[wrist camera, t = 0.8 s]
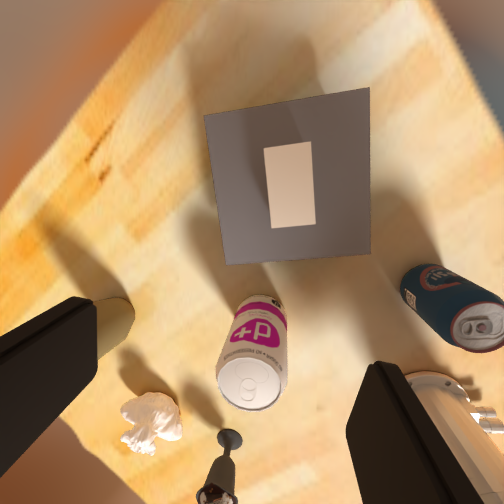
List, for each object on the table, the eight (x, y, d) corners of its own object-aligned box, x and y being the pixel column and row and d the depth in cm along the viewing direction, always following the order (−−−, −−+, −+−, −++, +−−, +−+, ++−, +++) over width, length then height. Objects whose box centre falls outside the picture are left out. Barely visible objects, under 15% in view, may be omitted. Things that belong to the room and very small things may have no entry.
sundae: (235, 458, 50) (215, 568, 36) (207, 439, 50) (175, 543, 35) (253, 438, 48) (240, 546, 34) (224, 419, 48) (198, 520, 34)
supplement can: (240, 288, 41) (216, 345, 26) (291, 299, 40) (295, 362, 26) (233, 331, 43) (207, 406, 29) (281, 342, 42) (279, 424, 28)
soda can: (447, 257, 36) (525, 292, 24) (448, 302, 37) (521, 355, 26) (394, 264, 37) (445, 301, 25) (397, 308, 38) (446, 361, 27)
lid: (362, 95, 26) (390, 62, 19) (364, 249, 30) (388, 268, 23) (209, 120, 28) (185, 100, 22) (229, 260, 32) (214, 280, 26)
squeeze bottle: (150, 312, 44) (63, 394, 27) (126, 340, 46) (31, 433, 29) (113, 281, 43) (0, 345, 26) (91, 312, 46) (-28, 389, 28)
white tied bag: (195, 404, 51) (191, 421, 40) (175, 446, 48) (166, 476, 38) (141, 378, 51) (123, 387, 40) (118, 418, 48) (93, 440, 38)
